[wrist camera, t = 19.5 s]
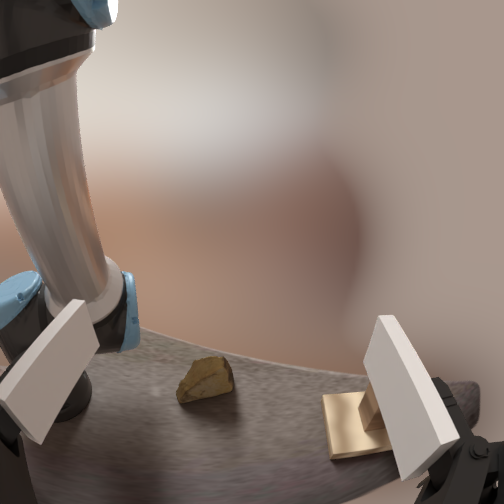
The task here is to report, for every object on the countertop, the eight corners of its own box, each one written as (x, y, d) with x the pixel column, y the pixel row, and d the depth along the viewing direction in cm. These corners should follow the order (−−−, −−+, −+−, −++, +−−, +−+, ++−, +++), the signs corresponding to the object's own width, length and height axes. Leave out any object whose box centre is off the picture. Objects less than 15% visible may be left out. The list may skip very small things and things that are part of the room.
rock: (167, 408, 38) (229, 409, 37) (161, 357, 40) (223, 356, 40) (186, 394, 48) (238, 393, 48) (182, 351, 51) (233, 349, 50)
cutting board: (329, 459, 31) (333, 454, 31) (320, 401, 43) (322, 394, 42) (420, 442, 31) (425, 436, 30) (401, 392, 42) (404, 385, 41)
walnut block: (364, 431, 34) (386, 392, 30) (357, 408, 38) (376, 367, 35) (392, 426, 34) (417, 387, 30) (384, 404, 38) (405, 363, 34)
